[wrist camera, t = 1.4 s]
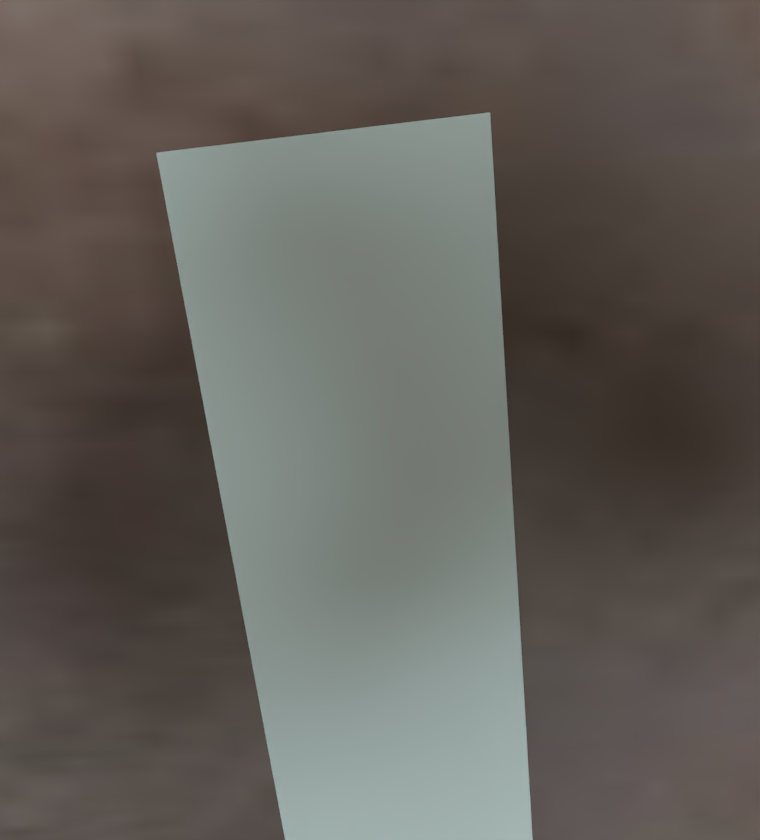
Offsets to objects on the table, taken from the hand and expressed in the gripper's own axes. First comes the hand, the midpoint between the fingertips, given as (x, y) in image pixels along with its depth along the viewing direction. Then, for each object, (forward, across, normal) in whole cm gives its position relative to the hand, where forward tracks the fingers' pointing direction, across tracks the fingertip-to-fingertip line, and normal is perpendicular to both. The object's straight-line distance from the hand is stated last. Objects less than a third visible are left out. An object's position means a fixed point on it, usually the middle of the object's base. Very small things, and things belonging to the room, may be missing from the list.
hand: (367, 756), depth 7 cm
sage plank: (+7, 0, 0) cm, 7 cm away
